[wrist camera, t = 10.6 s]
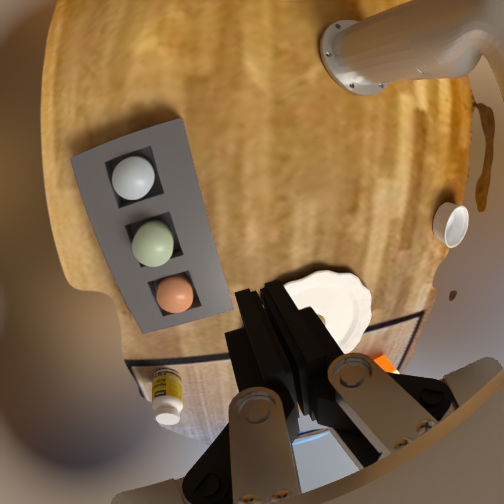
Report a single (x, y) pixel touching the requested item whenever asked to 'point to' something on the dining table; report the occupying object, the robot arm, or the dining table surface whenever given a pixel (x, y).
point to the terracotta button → (175, 293)
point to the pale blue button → (134, 177)
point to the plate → (335, 303)
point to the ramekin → (450, 223)
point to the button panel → (154, 208)
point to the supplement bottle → (167, 396)
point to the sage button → (153, 243)
